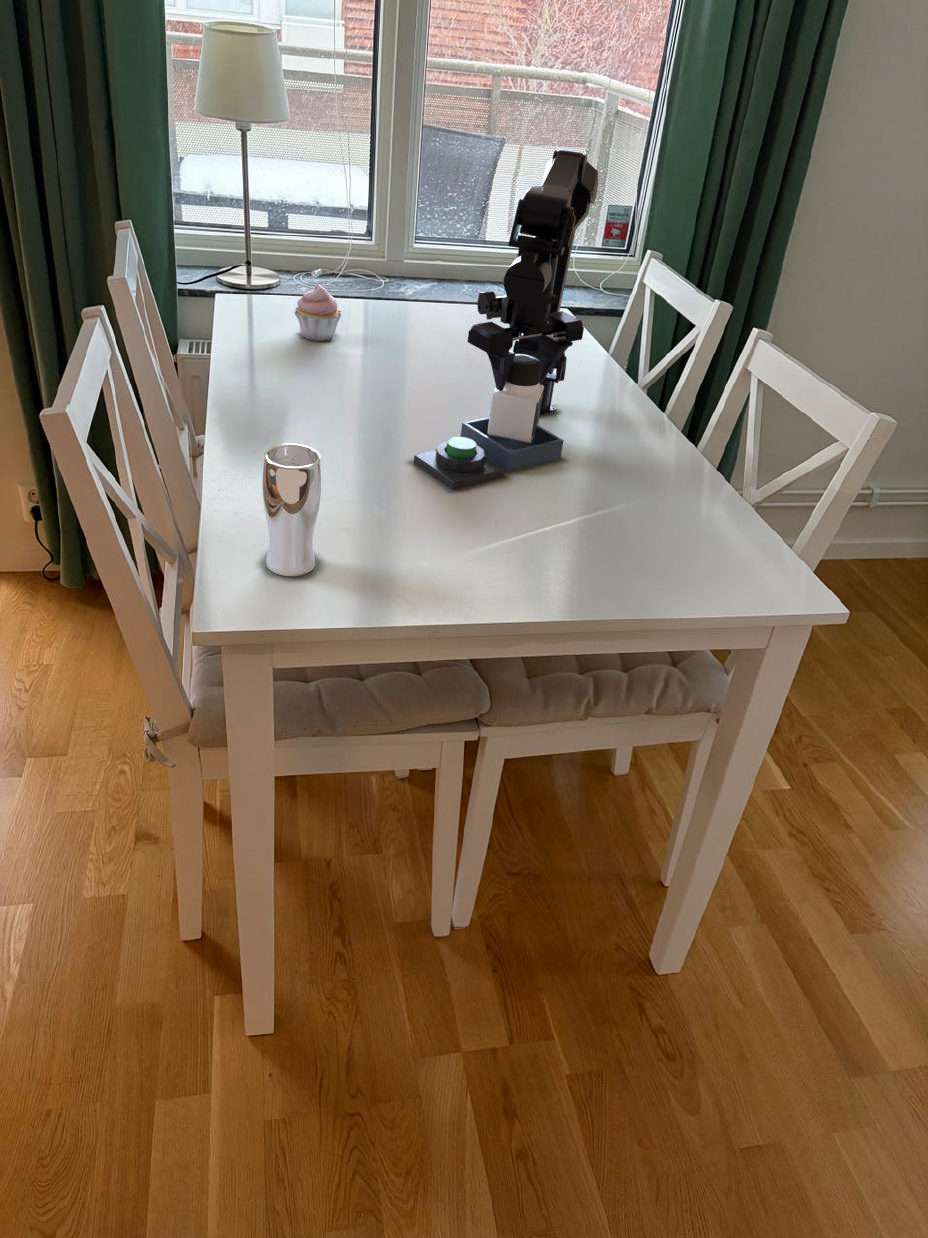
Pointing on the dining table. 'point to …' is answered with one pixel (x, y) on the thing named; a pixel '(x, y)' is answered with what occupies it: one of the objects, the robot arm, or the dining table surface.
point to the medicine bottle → (518, 401)
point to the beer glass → (291, 506)
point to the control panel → (458, 467)
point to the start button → (461, 447)
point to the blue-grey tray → (514, 446)
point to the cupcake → (317, 314)
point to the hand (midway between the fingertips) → (519, 385)
